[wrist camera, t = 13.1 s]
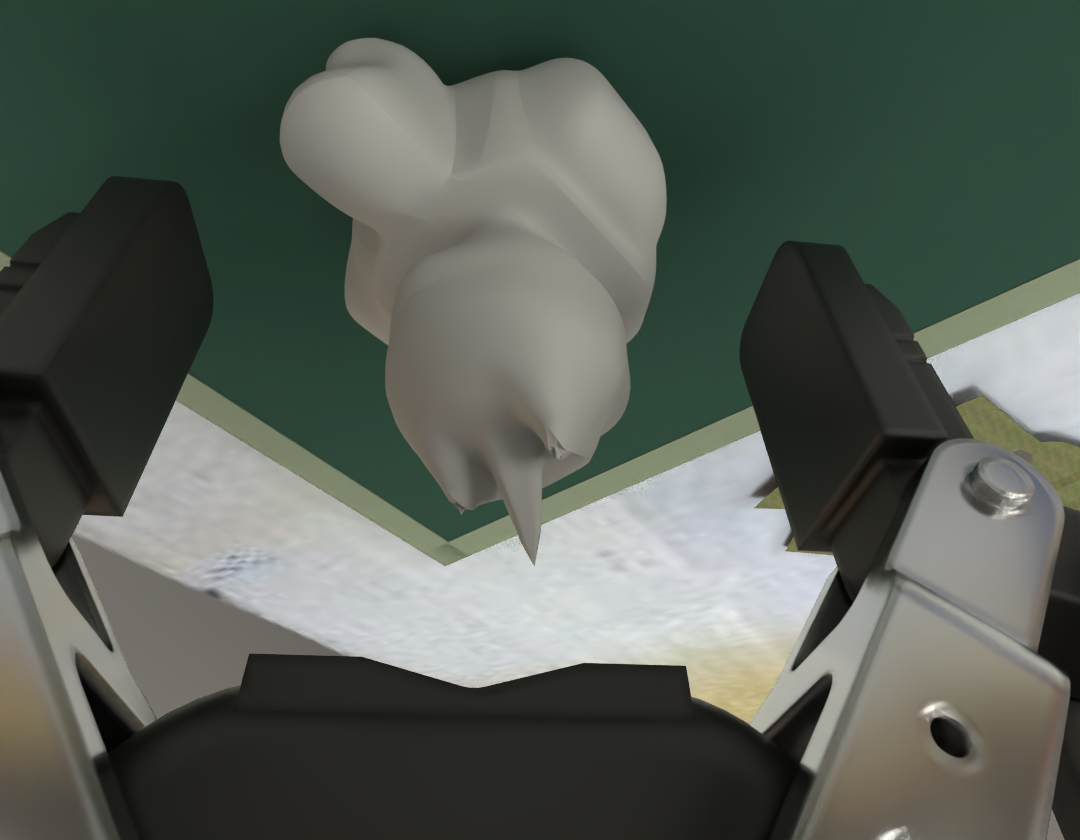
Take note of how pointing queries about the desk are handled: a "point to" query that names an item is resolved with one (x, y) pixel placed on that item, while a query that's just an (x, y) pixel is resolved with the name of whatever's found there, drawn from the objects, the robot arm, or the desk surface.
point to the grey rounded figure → (488, 255)
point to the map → (1061, 463)
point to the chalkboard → (690, 174)
